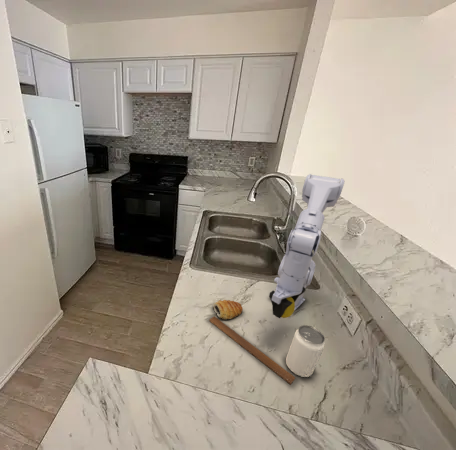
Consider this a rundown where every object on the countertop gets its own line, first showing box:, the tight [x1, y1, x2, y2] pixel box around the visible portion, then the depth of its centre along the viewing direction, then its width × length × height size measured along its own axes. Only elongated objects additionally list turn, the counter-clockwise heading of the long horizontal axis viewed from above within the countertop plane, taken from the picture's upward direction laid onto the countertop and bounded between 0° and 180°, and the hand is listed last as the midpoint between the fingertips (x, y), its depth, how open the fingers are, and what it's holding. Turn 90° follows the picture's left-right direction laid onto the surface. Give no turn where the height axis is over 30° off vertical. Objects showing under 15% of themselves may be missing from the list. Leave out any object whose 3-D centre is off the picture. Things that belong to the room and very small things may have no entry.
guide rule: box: [208, 316, 296, 386], centre depth 72 cm, size 2×26×1 cm, turn 39°
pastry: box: [212, 299, 243, 320], centre depth 84 cm, size 9×7×4 cm
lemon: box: [280, 297, 295, 319], centre depth 72 cm, size 6×6×8 cm
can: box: [285, 324, 326, 378], centre depth 65 cm, size 6×6×12 cm
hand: (282, 310), depth 73 cm, fingers closed on lemon, 5 cm apart
